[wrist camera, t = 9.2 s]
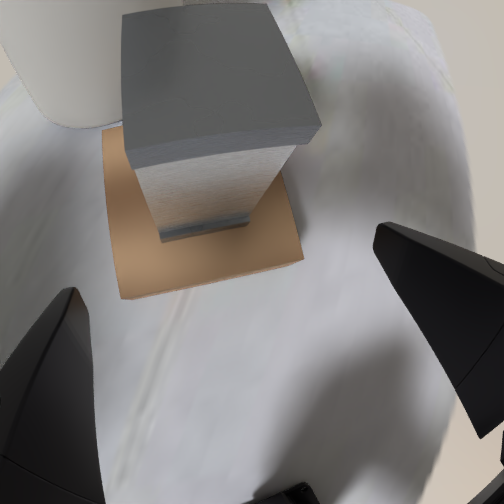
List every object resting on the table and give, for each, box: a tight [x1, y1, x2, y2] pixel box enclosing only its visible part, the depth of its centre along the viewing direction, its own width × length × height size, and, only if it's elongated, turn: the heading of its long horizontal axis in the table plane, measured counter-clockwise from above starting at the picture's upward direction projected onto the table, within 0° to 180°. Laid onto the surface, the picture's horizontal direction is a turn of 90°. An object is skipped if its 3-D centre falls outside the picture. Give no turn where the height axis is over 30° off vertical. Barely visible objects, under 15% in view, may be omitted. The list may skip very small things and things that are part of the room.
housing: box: [121, 3, 322, 243], centre depth 12 cm, size 5×5×10 cm
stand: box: [102, 126, 304, 300], centre depth 18 cm, size 10×10×3 cm
